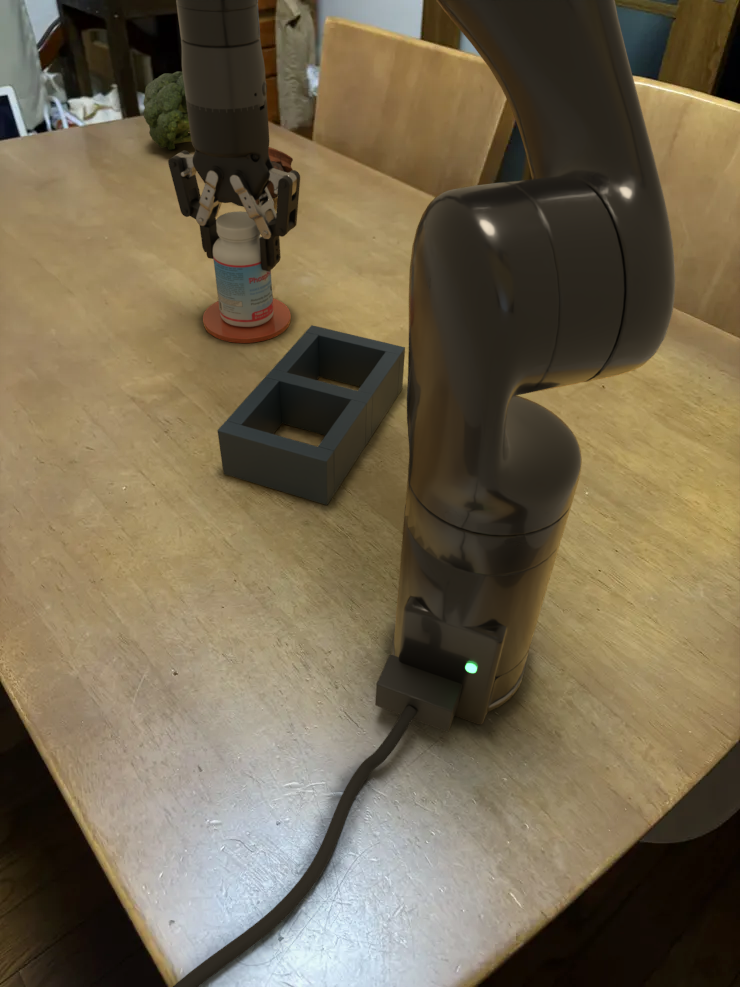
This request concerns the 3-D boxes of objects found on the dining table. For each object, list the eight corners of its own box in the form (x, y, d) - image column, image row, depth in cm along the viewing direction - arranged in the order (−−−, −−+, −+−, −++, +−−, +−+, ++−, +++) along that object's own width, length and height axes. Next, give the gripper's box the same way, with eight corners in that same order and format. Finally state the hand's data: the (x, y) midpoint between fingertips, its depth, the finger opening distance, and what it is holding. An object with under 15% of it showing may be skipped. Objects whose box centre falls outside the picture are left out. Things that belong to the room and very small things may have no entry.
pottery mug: (216, 194, 114) (229, 137, 112) (271, 213, 120) (284, 159, 118) (248, 200, 105) (262, 139, 103) (305, 220, 111) (320, 162, 108)
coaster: (265, 351, 82) (265, 346, 82) (186, 331, 84) (185, 326, 84) (305, 309, 89) (305, 304, 88) (230, 292, 91) (230, 287, 91)
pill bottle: (265, 332, 84) (257, 235, 76) (212, 325, 84) (199, 228, 77) (280, 306, 88) (274, 211, 80) (230, 300, 89) (220, 205, 81)
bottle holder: (327, 505, 65) (326, 461, 61) (223, 474, 67) (216, 430, 64) (402, 388, 77) (405, 347, 74) (312, 366, 80) (311, 324, 77)
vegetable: (214, 155, 119) (124, 104, 115) (210, 189, 131) (129, 143, 128) (247, 92, 120) (159, 39, 117) (240, 131, 133) (161, 84, 129)
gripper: (137, 93, 70) (166, 263, 81) (276, 115, 66) (286, 290, 77) (181, 73, 75) (202, 236, 86) (312, 93, 71) (316, 260, 82)
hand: (242, 261), depth 82 cm, fingers closed on pill bottle, 6 cm apart
